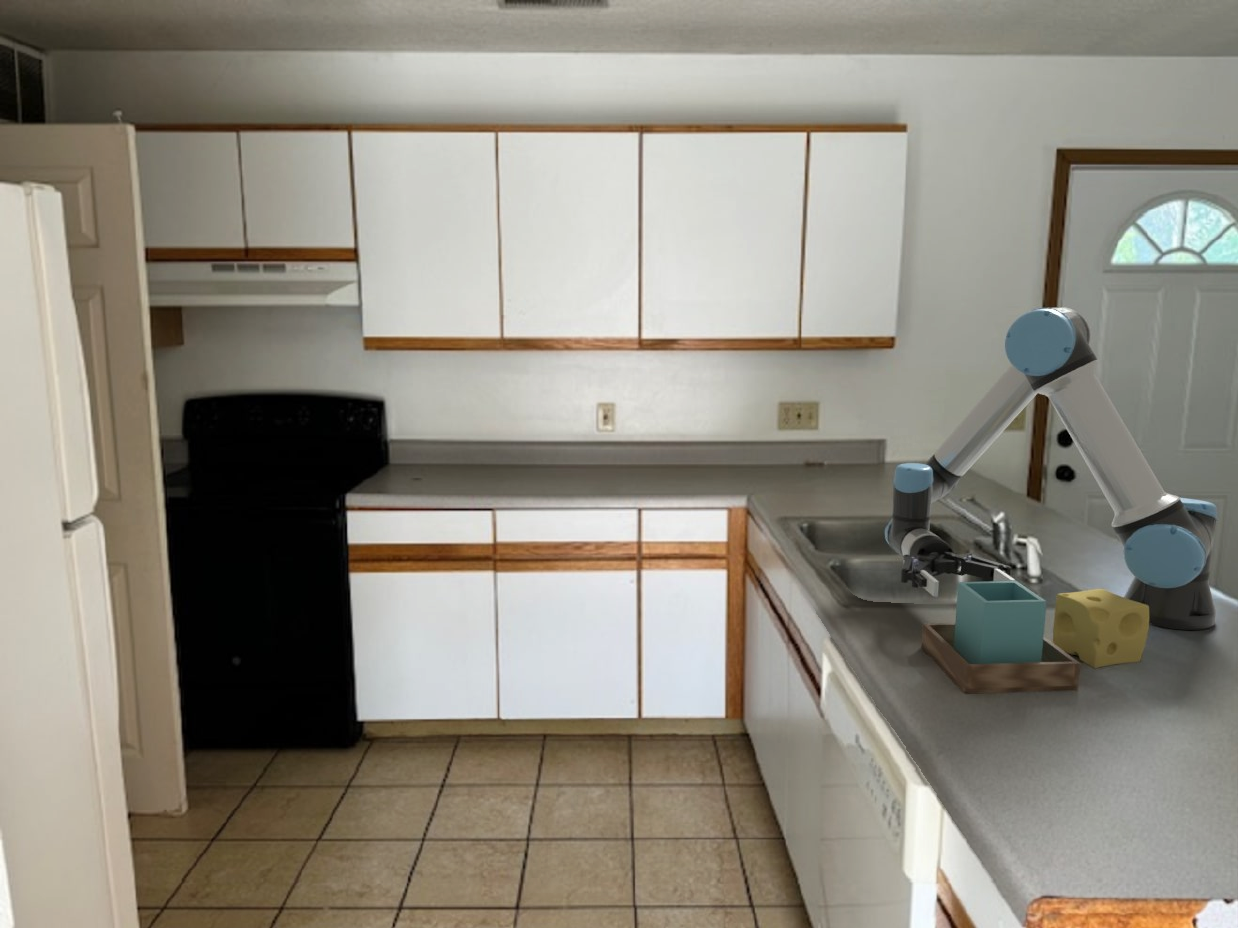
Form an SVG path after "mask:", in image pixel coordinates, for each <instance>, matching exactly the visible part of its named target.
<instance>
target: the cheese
mask: <svg viewBox="0 0 1238 928" xmlns="http://www.w3.org/2000/svg"><path fill="white" fill-rule="evenodd" d="M1053 619H1054V620H1053V627H1052V628H1053V629H1052V643H1054V644H1055V645H1056V646H1058V647H1059V648H1060V649H1062V650H1063V651H1064V652H1066V653H1067V654H1068V655H1073V656H1078V657H1079V660H1080V661H1082V662H1083V663H1085V664H1087V665H1088V666H1089V667H1091V668H1095V669H1096V668H1102V667H1106V666H1112V665H1113V666H1114V665H1120V664H1129V663H1130V664H1131V663H1137V662H1141V659H1142V656H1143V653H1144V649H1145V646H1146V643H1147V638H1148V634H1149V629H1150V624H1149V606H1148V605H1145V604H1143V603H1139V602H1136V601H1132V600H1129V599H1126V598H1124V597H1123V596H1121V595H1119V594H1115V593H1114V592H1112V591H1108V590H1107V589H1105V588H1095V589H1088V590H1082V591H1081V590H1080V591H1073V592H1063V593H1062V592H1061V593H1057V594H1056V598H1055V609H1054V618H1053Z"/></svg>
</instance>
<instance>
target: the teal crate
mask: <svg viewBox="0 0 1238 928" xmlns="http://www.w3.org/2000/svg"><path fill="white" fill-rule="evenodd" d="M1047 602H1048V601H1047V600H1045V598H1042V597H1041V596H1040V595H1038V594H1037V593H1035V592H1034V591H1032V590H1031V589H1030V588H1028V587H1026V586H1025V585H1023V584H1022V583H1020V582H1019V581H1017V580H1016V581H993V580H988V581H961V582H960V581H958V582H957V594H956V606H955V607H956V608H955V609H956V610H955V620H954V621H955V622H954V623H955V635H954V650H956V651H957V652H958V653H959V654H960V655H961V656H962V657H963V658H964V659H965V660H966V661H967V662H968V663H969V664H995V663H1033V662H1041V659H1042V648H1043V637H1045V636H1044V634H1045V623H1046V612H1047Z"/></svg>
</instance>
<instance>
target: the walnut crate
mask: <svg viewBox="0 0 1238 928" xmlns="http://www.w3.org/2000/svg"><path fill="white" fill-rule="evenodd" d="M954 635H955V622H934V623H931V622H930V623H922V633H921V649H922V650H923V651H924V653H926V654H927V655H928V656H929V657H930V659H932V661H933V662H934V663H936V665H937V666H938V667H939V668H940V669H941V671H943V673H945V674H946V675H947V677H949V678H950V679H951V681H952V682H953V683H954V684H955V685H956V686H957V687H958V688H959V689H960V690H961V691H962V692H963V693H964V694H993V693H997V694H999V693H1026V692H1027V693H1028V692H1029V693H1030V692H1064V691H1065V692H1066V691H1067V692H1068V691H1073V692H1074V691H1078V690H1079V684H1080V683H1079V681H1080V673H1081V662H1079V661H1078V660H1076V659H1075V658H1074V657H1072V656H1071V654H1069V653H1066V652H1064V651H1063V650H1062V649H1060V648H1059V647H1058V646H1056V645H1055V644H1054V643H1053V641H1051V640H1050V639H1048V638H1047V637H1046V636H1044V637H1043V648H1042V659H1041V662H1033V663H995V664H969V663H968V662H967V661H966V660H965V659H964V658H963V657H962V656H961V655H960V654H959V653H958V652H957V651H956V650H954Z"/></svg>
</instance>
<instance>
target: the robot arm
mask: <svg viewBox="0 0 1238 928" xmlns="http://www.w3.org/2000/svg"><path fill="white" fill-rule="evenodd" d="M1090 341H1091V331H1090V328H1089V324H1088V322H1087V321H1086V319H1085V318H1084V317H1083V315H1081V314H1080V313H1079V312H1078V311H1075V310H1074V309H1072V308H1069V307H1062V306H1054V307H1052V306H1051V307H1039V308H1038V307H1037V308H1034V309H1032V310H1030V311H1027V312H1025V313H1024V314H1021V316H1019V317H1018V318H1017V319H1016V320H1015V321H1014V322H1012V324H1011V325H1010V327H1009V329H1008V331H1007V332H1006V335H1005V340H1004V350H1005V354H1006V357H1007V359H1008V362H1010V365H1009V366H1008V368H1006V370H1005V371H1004V372H1003V373H1002V374H1001V376H1000V377H999V378H998V379H997V380H996V381H995V383H994V384H993V385H992V386H991V387H990V389H988V390H987V392H986V393H985V394H984V395H983V396H982V398H981V399H980V400H979V401H978V403H977V404H976V405H974V407H973V408H972V409H971V410H970V411H969V413H968V414H967V415H966V416H965V417H964V418H963V420H962V421H961V422H959V424H958V425H957V427H956V428H954V431H952V433H950V435H949V436H948V437H947V438H946V439H945V440H944V442H942V444H941V445H940V446H939V448H938V449H937V450H935V453H934V454H933V455H932V456H931V457H930V458H929V459H928V460H927V461H926V463H917V462H906V463H901V464H898V465H897V466H896V467H895V470H894V478H893V480H892V481H893V484H892V485H893V492H892V494H893V496H892V516H891V519H890V521H889V522H888V524H887V525H886V527H885V528H884V538H885V541H886V542H887V544H888V545H889V547H890V548H891V549H892V551H894V552H895V553H896V554H898V555H900V556H902V558H903V562H902V563H903V565H902V567H901V575H900V576H901V577H900V582H901V583H903V584H905V583H907V584H908V582H909V581H911V587H912V588H914V589H915V588H919V587H920V588H923V589H924V590H925V591H926V592H928V593H929V594H930V595H931V596H932V597H934V598H938V597H939V589H940V587H939V586H940V581H939V580H937V579H936V578H935V577H939V576H942V575H943V574H948V575H957V576H961V577H962V576H965V575H967V576H973V577H977V578H981V579H983V580H984V579H985V580H988V581H1017V580H1016V579H1015V578H1013V577H1012V576H1011V571H1012V567H1011V566H1010V565H1006V564H1004V563H1000V562H996V561H993V560H990V559H986V558H984V557H980V556H977V555H976V554H973V553H970V552H969V553H967V556H963V555H960V554H959V555H958V554H955V553H954V551H953V549H952V547H951V545H950V544H949V543H948V542H946V541H945V540H943V539H942V538H941V537H939V536H938V535H936V534H935V533H933V532H932V531H931V530H930V524H931V512H932V504H933V503H934V502H936V501H938V500H940V499H942V498H945V497H946V496H948V495H950V494H952V493H951V492H953V490H955V488H956V487H957V485H958V482H959V481H960V480H961V478H963V476H964V475H965V474H966V473H967V472H968V471H969V470H970V469H971V467H972V466H973V465H974V464H975V463H976V462H977V460H979V459H980V458H981V456H983V454H984V453H985V452H986V451H987V450H988V449H989V447H991V445H992V444H993V443H994V442H995V441H996V440H997V438H999V436H1001V434H1002V433H1003V432H1004V431H1005V430H1006V429H1007V428H1008V427H1009V425H1011V423H1012V422H1013V421H1014V420H1015V419H1016V418H1017V417H1018V416H1019V414H1020V413H1021V412H1022V411H1023V410H1024V409H1025V408H1026V406H1028V404H1030V403H1031V401H1032V400H1033V399H1034V398H1035V397H1036V395H1038V394H1039V395H1042V396H1045V397H1047V398H1048V399H1049V401H1050V403H1051V405H1052V407H1053V408H1054V409H1055V412H1056V413H1057V415H1058V418H1060V420H1061V422H1062V423H1063V426H1064V427H1065V429H1066V431H1067V433H1068V434H1069V435H1070V438H1071V439H1072V441H1073V443H1074V445H1075V446H1076V448H1077V450H1078V451H1079V453H1080V455H1081V456H1082V459H1083V460H1084V461H1085V464H1086V465H1087V467H1088V468H1089V471H1090V472H1091V474H1092V475H1093V477H1094V479H1095V481H1096V483H1097V484H1098V486H1099V488H1100V490H1101V491H1102V493H1103V495H1104V497H1105V498H1106V500H1107V502H1108V503H1109V505H1110V507H1111V509H1112V510H1113V512H1114V517H1113V520H1112V522H1111V527H1112V529H1113V531H1114V532H1115V534H1116V536H1117V537H1118V539H1119V541H1120V544H1121V545H1122V546H1123V558H1124V562H1125V565H1126V568H1128V570H1129V572H1130V573H1131V574H1132V575H1133V576H1134V577H1133V579H1132V581H1131V583H1130V585H1129V587H1128V588H1127V591H1126V593H1125V594H1124V598H1126V599H1129V600H1132V601H1136V602H1139V603H1143V604H1145V605H1148V606H1149V625H1153V626H1157V627H1161V628H1167V629H1175V630H1184V631H1187V630H1188V631H1194V630H1195V631H1198V630H1207V629H1209V628H1211V627H1214V626H1215V622H1216V617H1217V612H1216V611H1217V610H1216V606H1215V603H1214V598H1213V595H1212V590H1211V587H1210V582H1209V580H1210V572H1211V566H1212V557H1213V549H1214V541H1215V533H1216V526H1217V522H1218V521H1219V517H1218V508H1217V506H1216V505H1215V504H1214V503H1212V502H1210V501H1205V500H1200V499H1194V498H1185V497H1180V496H1178V495H1174V494H1171V493H1168V492H1166V491H1165V490H1164V488H1163V487H1162V484H1161V483H1160V482H1159V480H1158V478H1157V477H1156V475H1155V473H1154V471H1153V470H1152V468H1151V467H1150V465H1149V462H1148V461H1147V459H1146V458H1145V456H1144V454H1143V453H1142V451H1141V450H1140V448H1139V446H1138V444H1137V443H1136V441H1135V439H1134V438H1133V436H1132V434H1131V432H1130V431H1129V429H1128V427H1127V426H1126V424H1125V423H1124V421H1123V419H1122V417H1121V415H1120V413H1119V412H1118V411H1117V409H1116V406H1115V405H1114V404H1113V402H1112V400H1111V399H1110V396H1109V395H1108V393H1107V392H1106V389H1105V388H1104V387H1103V385H1102V383H1101V381H1100V380H1099V378H1098V377H1097V375H1096V369H1097V366H1098V364H1099V359H1098V358H1097V356H1096V354H1095V353H1094V351H1093V349H1092V348H1091V346H1090ZM959 569H960V570H959Z"/></svg>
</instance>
